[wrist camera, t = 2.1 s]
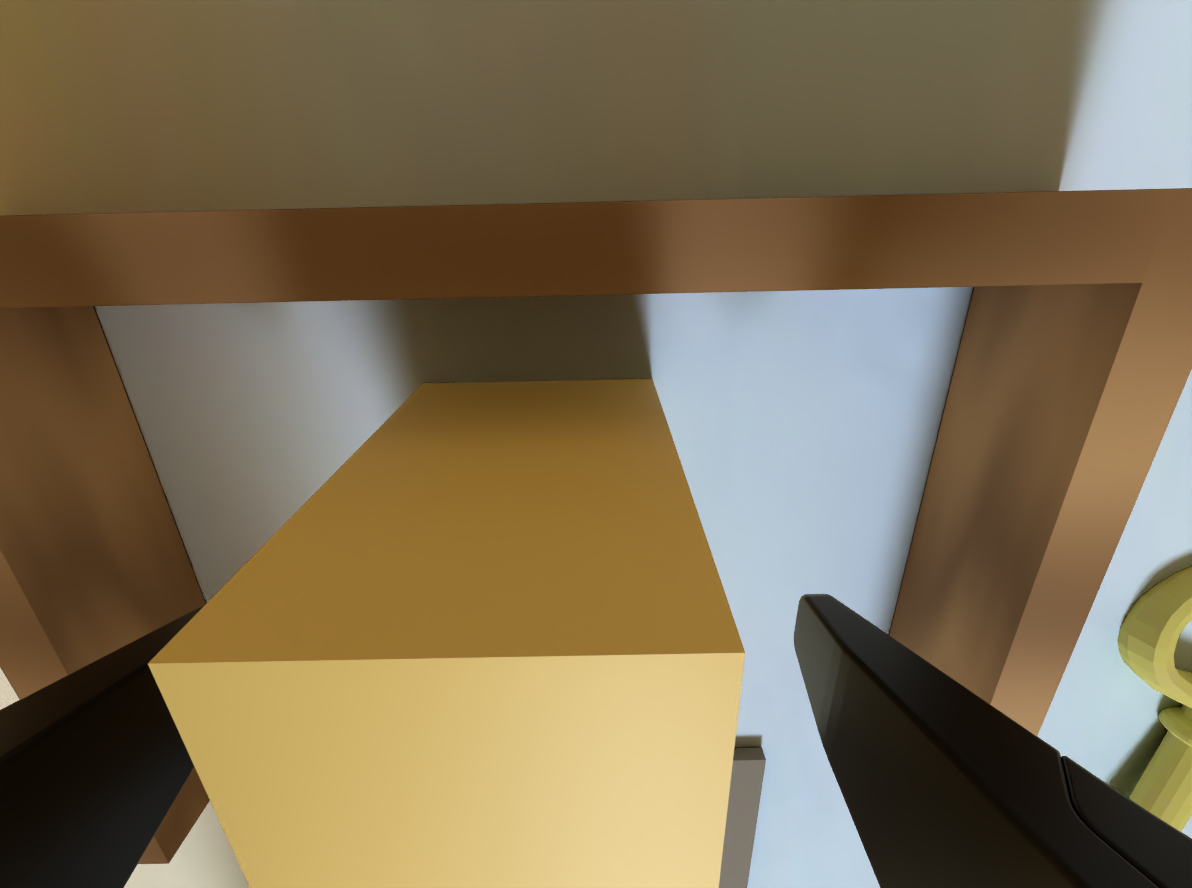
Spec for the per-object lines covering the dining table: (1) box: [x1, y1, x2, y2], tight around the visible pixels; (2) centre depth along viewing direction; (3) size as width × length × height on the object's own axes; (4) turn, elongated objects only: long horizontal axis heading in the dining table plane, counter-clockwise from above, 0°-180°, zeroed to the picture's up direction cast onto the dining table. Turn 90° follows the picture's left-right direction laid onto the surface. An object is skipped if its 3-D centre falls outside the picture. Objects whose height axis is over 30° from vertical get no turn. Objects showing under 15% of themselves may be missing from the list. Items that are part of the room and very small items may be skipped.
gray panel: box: [719, 748, 766, 888], centre depth 18 cm, size 10×12×1 cm
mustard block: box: [148, 379, 745, 888], centre depth 9 cm, size 5×5×8 cm
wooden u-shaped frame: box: [0, 188, 1192, 864], centre depth 12 cm, size 14×20×4 cm
